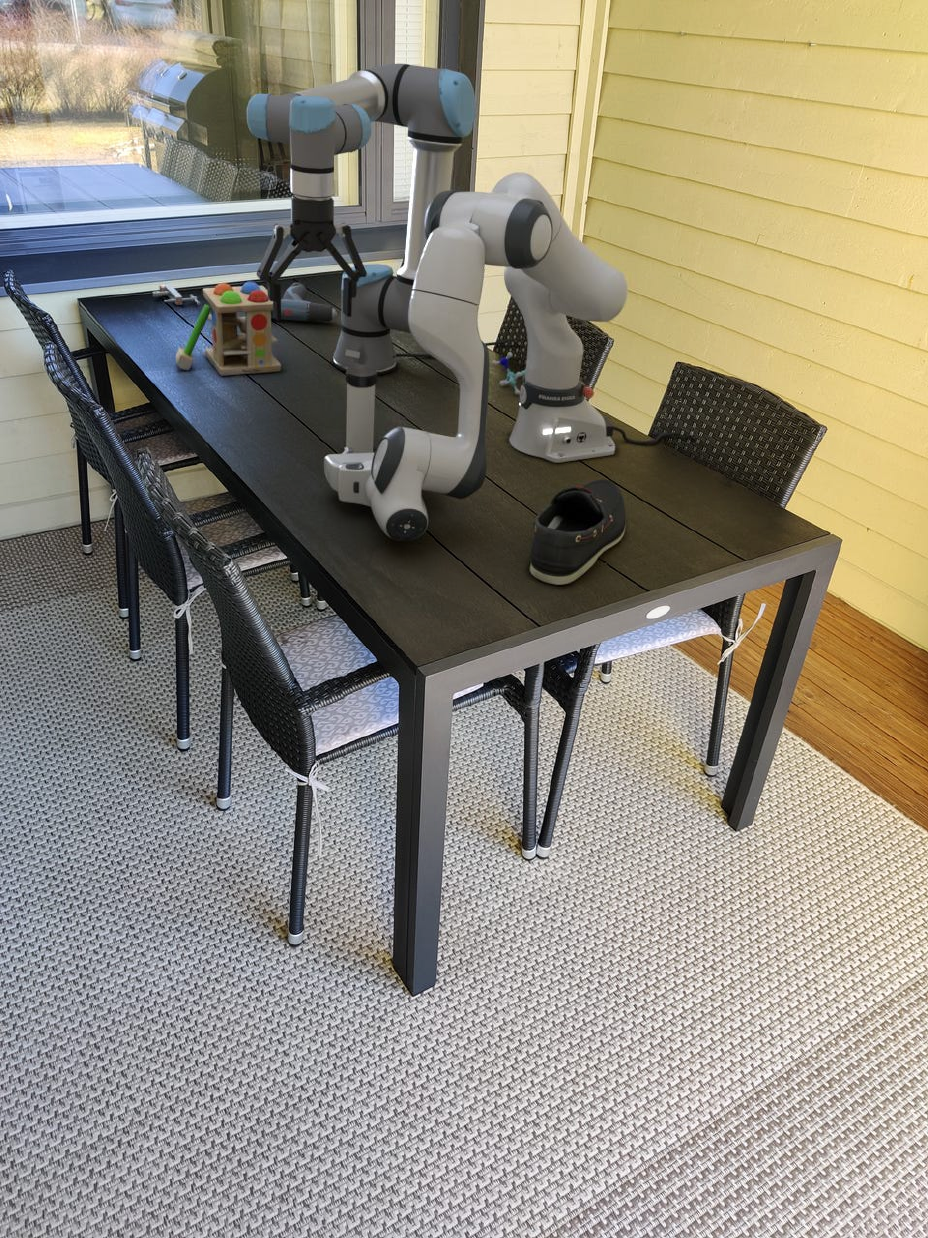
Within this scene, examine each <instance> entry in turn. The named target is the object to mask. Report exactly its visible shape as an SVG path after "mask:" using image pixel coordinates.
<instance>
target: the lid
mask: <svg viewBox="0 0 928 1238" xmlns="http://www.w3.org/2000/svg"><path fill="white" fill-rule="evenodd" d="M345 382H346V384H347V383H348V384H350V385H352V386H356V387H370V386H373V385H375V386H376V385H377V382H378V375H377V371H376V370H375V369H374V368H371V367H368V366H352V367H349V368H348V369H347V370H346V372H345Z"/></svg>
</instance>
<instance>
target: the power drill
mask: <svg viewBox="0 0 928 1238" xmlns="http://www.w3.org/2000/svg"><path fill="white" fill-rule="evenodd" d="M307 295H308V290H307V287H306V285H304V284H303V283H301V282H293V283H292V284H291V285H290V286H289V287H288V288H287V289H286V291H285V292H284V294H283V297H282V298H281V320H283V321H294V322H295V321H297V322H332V321H333V320H334V319H336V318H337V317H338V312H337V311H336V308H334V307H333V306H332V305H331V304H324V303H317V302H313V301H307V300H305V299H306V297H307ZM271 319H274V320H276V318H275V317H274V316H273V310H271Z"/></svg>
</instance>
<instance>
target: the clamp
mask: <svg viewBox="0 0 928 1238" xmlns="http://www.w3.org/2000/svg"><path fill="white" fill-rule="evenodd" d="M158 288H159V291H152V296H153V297H154V298H157V297H158V298H160V297H163V296H167V297H168V298H169V299H164V301H163V302H164V303H174V304H175V305H176V306H181V305H183V302H194V303H195V302H196V303H197V306H201V304H202V302H201V301H199V300H198V296H195V295H194V294H189V297H183V296H182V295H181V294H180V293H179V292H178V291H177V290H176V289H175V288H174V287H173V286H172V285H171V284H165V285H164V284H162V285H159V286H158Z"/></svg>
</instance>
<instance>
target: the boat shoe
mask: <svg viewBox="0 0 928 1238" xmlns="http://www.w3.org/2000/svg"><path fill="white" fill-rule="evenodd" d="M623 497H624V496H623V494H622V493H621V490H620V489H619V487H618V486H617V484H616V483H614V482H613V481H611V480H609V479H595V480H593V481H589V482H587V483H586V484H584V485H583V486H568V487H566V488H563V489H562V490H560V491H559V492H556V494H555V495H554V496H553V497H552V498H551V500H550V502H549V504H548V506H546V507H544V508H543V510H541V511H540V513H538V514H537V515H536V517H535V519H534V520H533V522H532V529H533V538H532V541H531V546H530V547H531V548H530V551H529V558H530V559H531V560H530V566H529V572H530V574H531V575H532V576H533V577H534V578H535V579H538V580H540V581H542V582H544V583H547V584H550V585H557V586H558V585H559V586H561V585H568V584H571V583H572V582H574V581H576V580H577V579H579V578H580V577H581V576H582V575H584V573H586V572H587V571H588V570H589V569H590V568H591V567H593V565H594V564H595V563H596V561H597V560H598V558H599V557H601V555H602V554H603V553H604V552H606V551H607V550H609V549H610V548H612V547H614V546H615V545H617V544H618V543H619V542H620V541H621V540H622V539H623V537H624V535H625V532H626V526H627V525H626V524H627V516H626V505H625V502H624V498H623Z"/></svg>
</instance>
